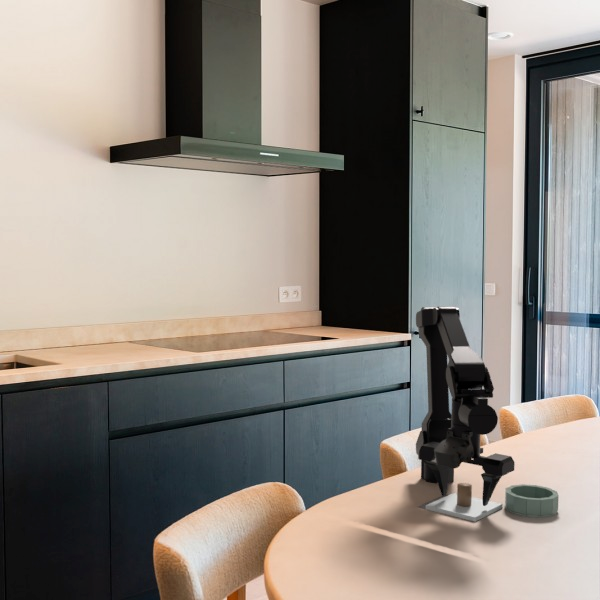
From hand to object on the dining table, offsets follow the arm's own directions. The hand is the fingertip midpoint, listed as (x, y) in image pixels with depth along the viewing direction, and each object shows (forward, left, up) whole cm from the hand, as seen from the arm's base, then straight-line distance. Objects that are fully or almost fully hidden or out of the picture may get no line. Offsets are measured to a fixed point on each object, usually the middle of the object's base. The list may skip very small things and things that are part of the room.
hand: (464, 500), depth 164 cm
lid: (0, 0, -2) cm, 2 cm away
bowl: (+10, +9, -2) cm, 14 cm away
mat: (-1, 0, -2) cm, 2 cm away
